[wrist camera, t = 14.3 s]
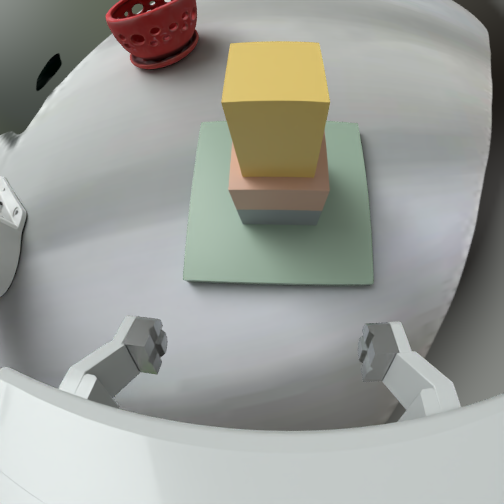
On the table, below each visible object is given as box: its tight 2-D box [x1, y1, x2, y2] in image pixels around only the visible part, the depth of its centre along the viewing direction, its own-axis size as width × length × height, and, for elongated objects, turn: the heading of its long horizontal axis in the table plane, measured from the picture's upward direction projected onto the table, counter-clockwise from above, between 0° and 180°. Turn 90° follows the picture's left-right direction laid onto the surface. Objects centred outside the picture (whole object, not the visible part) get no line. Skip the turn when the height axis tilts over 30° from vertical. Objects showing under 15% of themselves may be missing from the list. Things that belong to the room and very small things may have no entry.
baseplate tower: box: [183, 121, 373, 285], centre depth 25 cm, size 18×18×10 cm
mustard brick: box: [221, 41, 330, 178], centre depth 16 cm, size 5×5×8 cm
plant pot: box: [106, 0, 199, 69], centre depth 31 cm, size 13×13×12 cm
